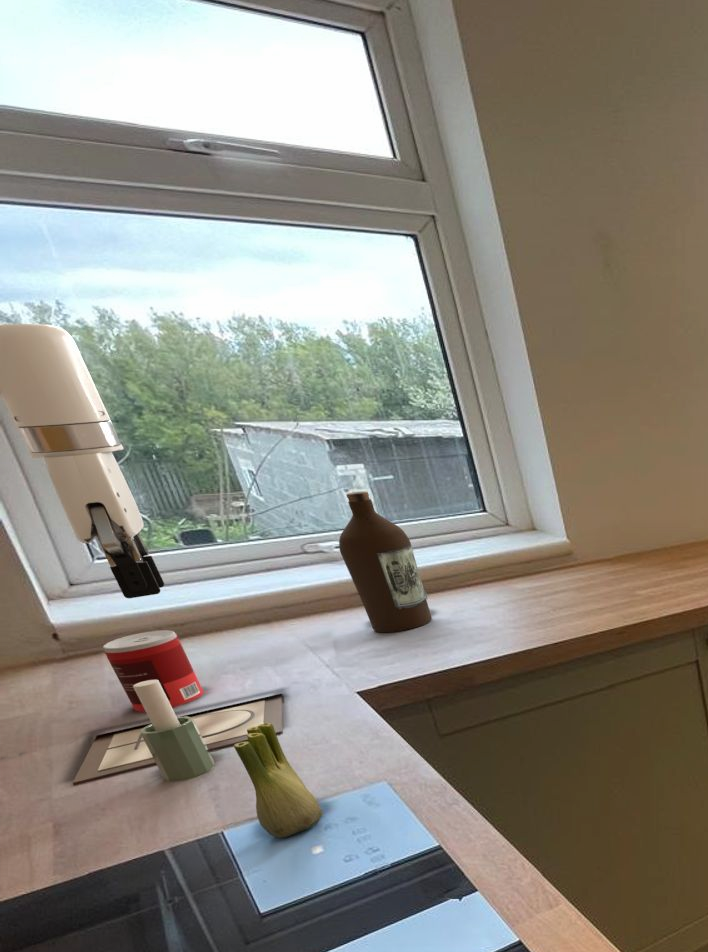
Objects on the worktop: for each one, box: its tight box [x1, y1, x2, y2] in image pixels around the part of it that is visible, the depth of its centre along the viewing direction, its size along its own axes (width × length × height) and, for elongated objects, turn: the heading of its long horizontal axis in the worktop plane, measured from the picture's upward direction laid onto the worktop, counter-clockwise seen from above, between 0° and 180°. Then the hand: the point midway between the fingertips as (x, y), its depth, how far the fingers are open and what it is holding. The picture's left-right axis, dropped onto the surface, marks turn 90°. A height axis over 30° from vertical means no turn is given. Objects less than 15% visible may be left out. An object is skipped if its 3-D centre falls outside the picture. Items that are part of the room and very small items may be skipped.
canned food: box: [102, 629, 205, 713], centre depth 119 cm, size 8×8×11 cm
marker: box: [133, 680, 180, 731], centre depth 98 cm, size 2×2×12 cm
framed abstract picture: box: [72, 693, 285, 786], centre depth 111 cm, size 20×18×1 cm
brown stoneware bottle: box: [338, 490, 433, 633], centre depth 150 cm, size 11×11×25 cm
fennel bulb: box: [233, 723, 323, 838], centre depth 85 cm, size 6×5×12 cm
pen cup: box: [140, 715, 216, 782], centre depth 99 cm, size 5×5×7 cm
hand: (145, 590), depth 101 cm, fingers open, 3 cm apart
